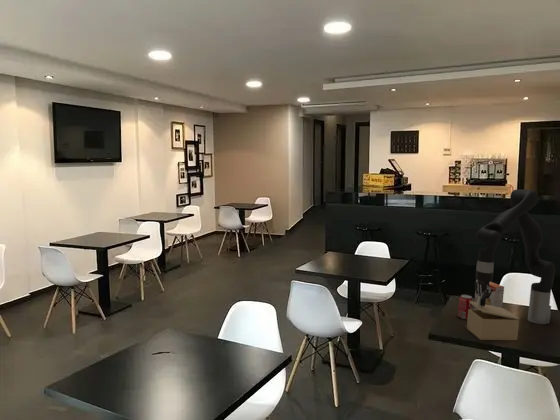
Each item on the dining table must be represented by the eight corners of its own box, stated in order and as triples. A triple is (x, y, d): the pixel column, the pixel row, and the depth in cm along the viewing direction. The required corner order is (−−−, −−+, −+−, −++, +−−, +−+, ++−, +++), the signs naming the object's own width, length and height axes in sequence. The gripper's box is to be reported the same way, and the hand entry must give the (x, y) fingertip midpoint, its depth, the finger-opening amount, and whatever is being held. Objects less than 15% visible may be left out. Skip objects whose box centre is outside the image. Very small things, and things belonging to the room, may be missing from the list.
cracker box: (472, 316, 240) (475, 279, 238) (481, 315, 242) (484, 278, 240) (491, 326, 227) (495, 286, 225) (501, 325, 229) (504, 286, 226)
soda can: (470, 316, 241) (472, 295, 239) (472, 320, 234) (474, 299, 232) (456, 314, 243) (458, 293, 241) (458, 319, 236) (460, 297, 234)
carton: (501, 328, 224) (503, 309, 223) (517, 340, 210) (519, 320, 209) (466, 328, 223) (468, 309, 222) (480, 339, 209) (482, 319, 208)
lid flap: (503, 309, 223) (506, 298, 222) (519, 319, 209) (522, 308, 208) (469, 302, 221) (472, 291, 221) (483, 312, 208) (486, 300, 207)
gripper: (499, 274, 206) (496, 310, 208) (485, 267, 219) (481, 300, 221) (484, 273, 205) (480, 309, 208) (470, 266, 219) (467, 300, 221)
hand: (481, 304), depth 215 cm, fingers closed
